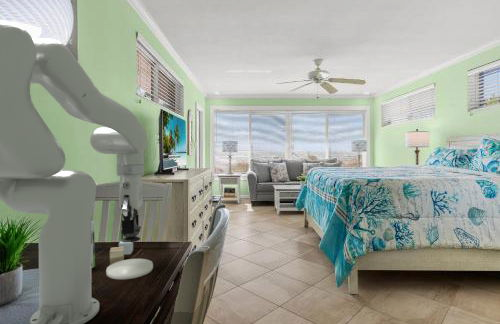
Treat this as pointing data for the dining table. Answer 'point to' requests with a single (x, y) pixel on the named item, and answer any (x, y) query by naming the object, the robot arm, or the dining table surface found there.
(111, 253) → the birch block
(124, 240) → the dark grey tall piece
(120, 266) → the cream plate
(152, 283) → the dining table surface
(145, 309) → the dining table surface
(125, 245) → the blue-grey block
